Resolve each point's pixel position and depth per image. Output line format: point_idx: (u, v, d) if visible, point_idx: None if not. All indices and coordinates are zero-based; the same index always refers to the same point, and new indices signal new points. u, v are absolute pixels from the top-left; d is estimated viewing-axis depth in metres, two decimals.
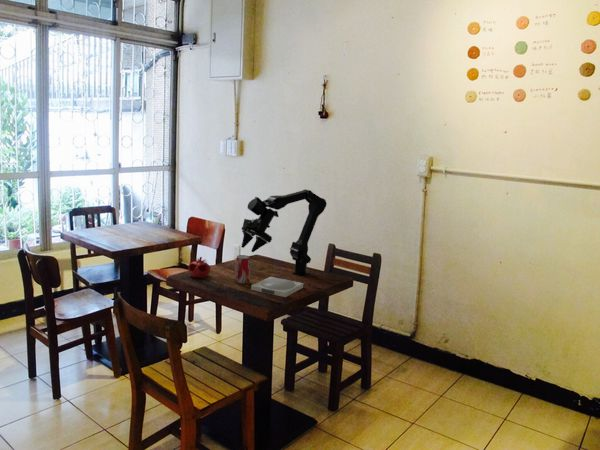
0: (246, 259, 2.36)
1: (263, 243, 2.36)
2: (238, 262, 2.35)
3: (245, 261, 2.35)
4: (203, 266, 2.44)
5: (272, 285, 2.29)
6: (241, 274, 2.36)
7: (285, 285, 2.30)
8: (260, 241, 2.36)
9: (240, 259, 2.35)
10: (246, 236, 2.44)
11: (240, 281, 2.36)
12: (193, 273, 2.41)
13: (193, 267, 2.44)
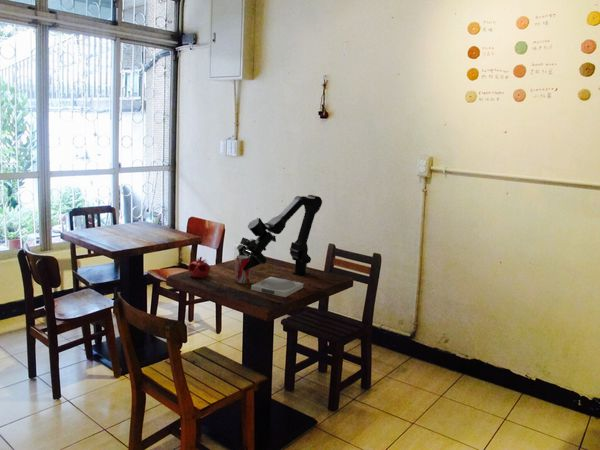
0: (246, 259, 2.36)
1: (256, 263, 2.36)
2: (238, 262, 2.35)
3: (245, 261, 2.35)
4: (203, 266, 2.44)
5: (272, 285, 2.29)
6: (241, 274, 2.36)
7: (285, 285, 2.30)
8: (253, 261, 2.36)
9: (240, 259, 2.35)
10: None
11: (240, 281, 2.36)
12: (193, 273, 2.41)
13: (193, 267, 2.44)
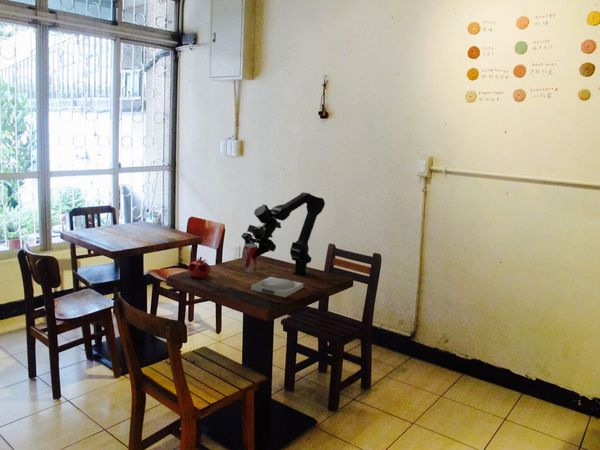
0: (255, 248, 2.31)
1: (265, 251, 2.33)
2: (247, 251, 2.31)
3: (254, 250, 2.31)
4: (203, 266, 2.44)
5: (272, 285, 2.29)
6: (249, 263, 2.31)
7: (285, 285, 2.30)
8: (262, 248, 2.32)
9: (249, 248, 2.31)
10: None
11: (248, 270, 2.32)
12: (193, 273, 2.41)
13: (193, 267, 2.44)
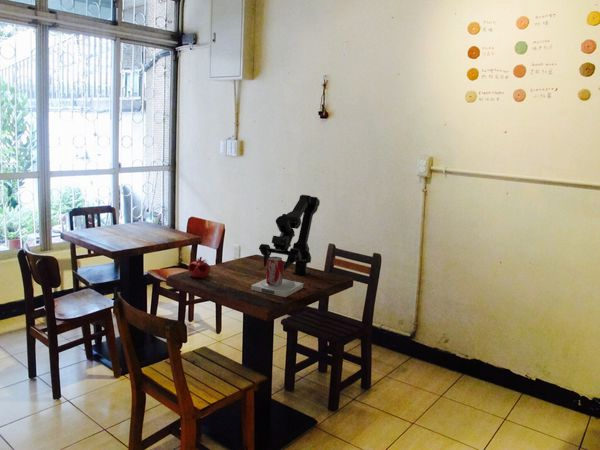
0: (281, 260, 2.27)
1: (292, 261, 2.29)
2: (274, 264, 2.25)
3: (281, 262, 2.26)
4: (203, 266, 2.44)
5: None
6: (278, 276, 2.26)
7: (285, 285, 2.30)
8: (290, 259, 2.28)
9: (276, 261, 2.25)
10: (267, 255, 2.31)
11: (276, 284, 2.27)
12: (193, 273, 2.41)
13: (193, 267, 2.44)
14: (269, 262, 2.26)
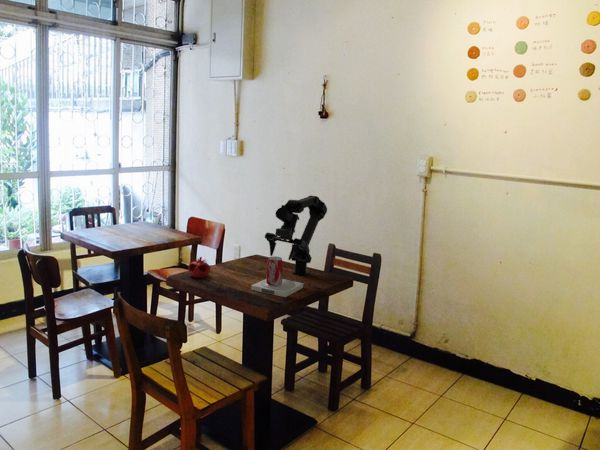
0: (281, 260, 2.27)
1: (297, 249, 2.41)
2: (275, 264, 2.25)
3: (281, 262, 2.27)
4: (203, 266, 2.44)
5: None
6: (278, 276, 2.26)
7: (285, 285, 2.30)
8: (295, 248, 2.40)
9: (276, 261, 2.25)
10: (272, 244, 2.42)
11: (276, 284, 2.27)
12: (193, 273, 2.41)
13: (193, 267, 2.44)
14: (269, 262, 2.26)
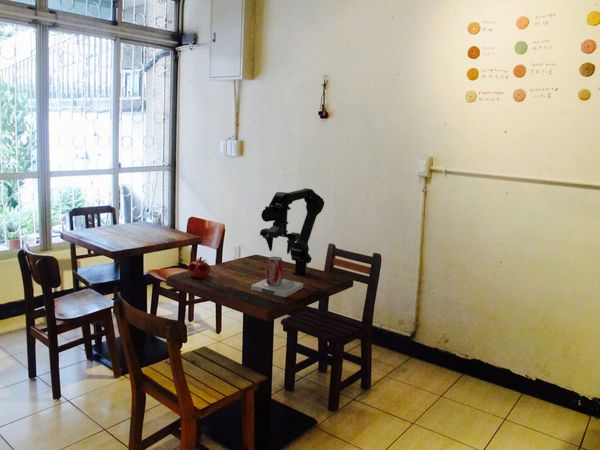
0: (281, 260, 2.27)
1: (293, 241, 2.43)
2: (275, 264, 2.25)
3: (281, 262, 2.27)
4: (203, 266, 2.44)
5: None
6: (278, 276, 2.26)
7: (285, 285, 2.30)
8: (291, 242, 2.42)
9: (276, 261, 2.25)
10: (269, 240, 2.46)
11: (276, 284, 2.27)
12: (193, 273, 2.41)
13: (193, 267, 2.44)
14: (269, 262, 2.26)
